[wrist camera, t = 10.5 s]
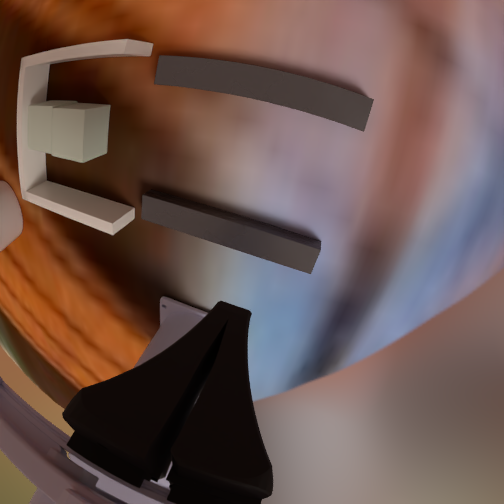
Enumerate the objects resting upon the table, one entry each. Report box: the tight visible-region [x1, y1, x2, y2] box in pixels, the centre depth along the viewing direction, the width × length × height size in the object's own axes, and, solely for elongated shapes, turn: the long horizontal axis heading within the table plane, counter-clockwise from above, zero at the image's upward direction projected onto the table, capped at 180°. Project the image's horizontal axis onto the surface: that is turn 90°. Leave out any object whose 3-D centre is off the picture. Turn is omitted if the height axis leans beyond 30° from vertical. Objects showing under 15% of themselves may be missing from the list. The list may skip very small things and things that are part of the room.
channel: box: [142, 55, 374, 274], centre depth 17 cm, size 12×13×1 cm
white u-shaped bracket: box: [17, 39, 153, 235], centre depth 17 cm, size 14×13×3 cm
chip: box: [28, 100, 78, 154], centre depth 18 cm, size 4×4×3 cm
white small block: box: [52, 103, 111, 163], centre depth 17 cm, size 4×4×3 cm
